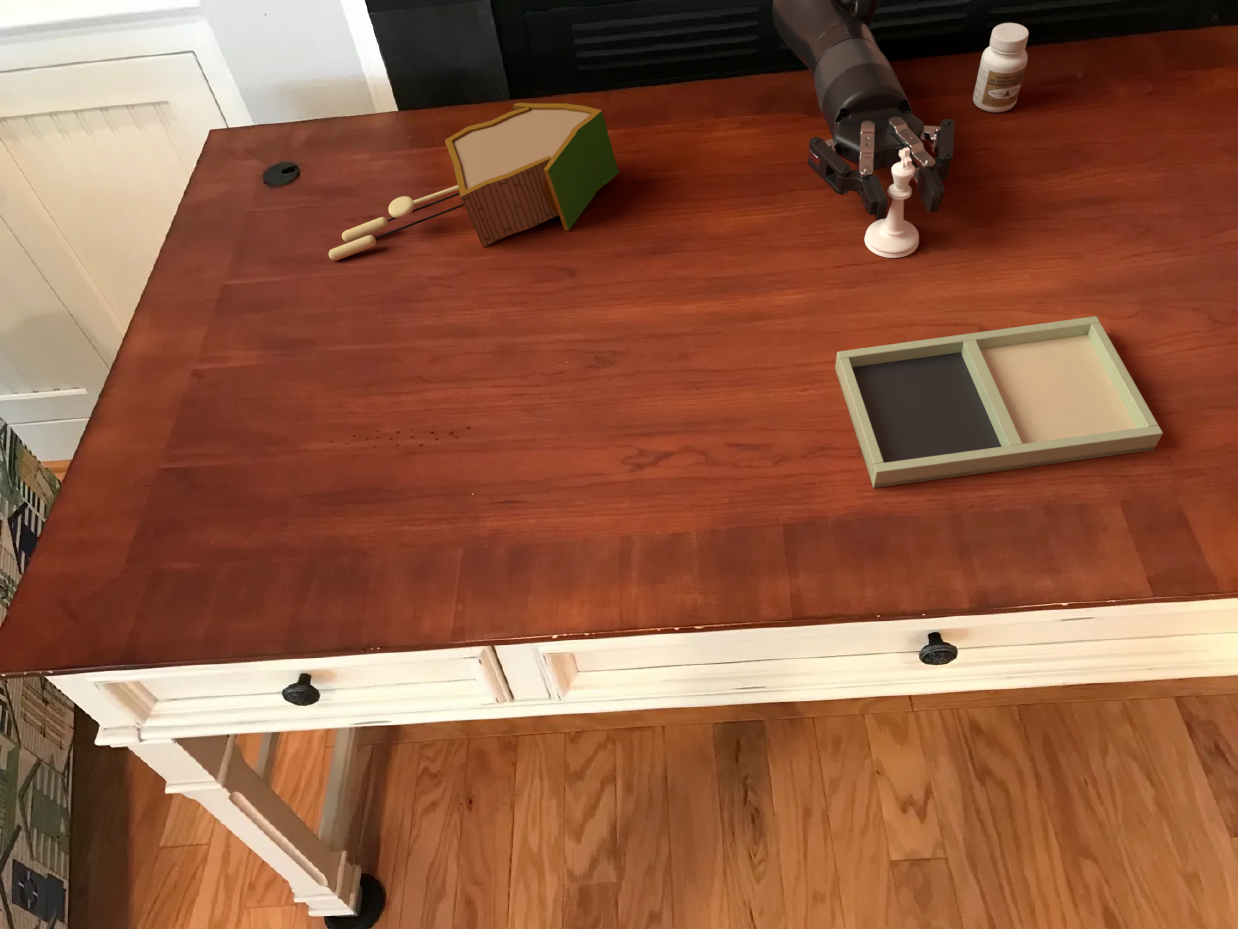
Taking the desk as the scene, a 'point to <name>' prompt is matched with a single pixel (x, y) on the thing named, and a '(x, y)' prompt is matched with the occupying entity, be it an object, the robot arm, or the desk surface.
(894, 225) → the chess piece
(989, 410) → the sorting tray
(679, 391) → the desk surface
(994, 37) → the pill bottle
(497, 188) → the cuckoo clock
